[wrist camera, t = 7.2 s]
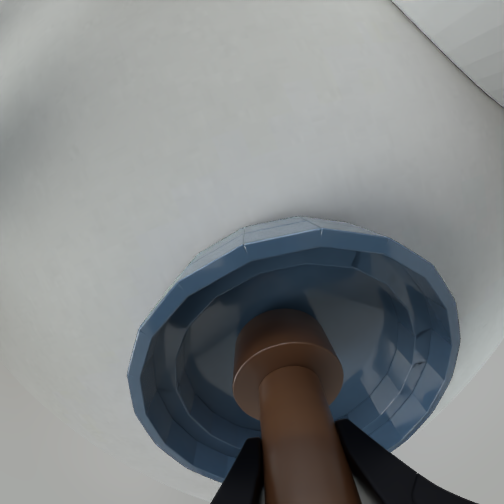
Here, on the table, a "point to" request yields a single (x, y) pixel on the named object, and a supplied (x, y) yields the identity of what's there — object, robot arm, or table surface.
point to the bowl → (306, 300)
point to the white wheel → (465, 36)
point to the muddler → (294, 407)
